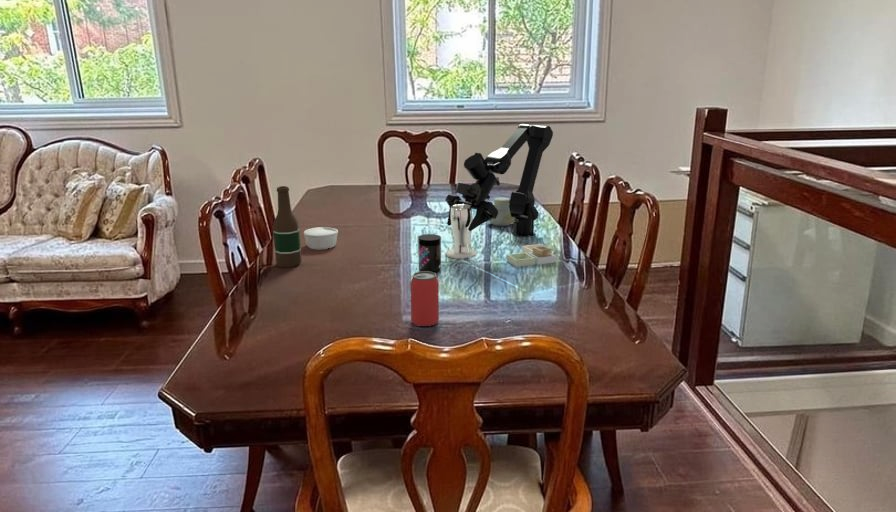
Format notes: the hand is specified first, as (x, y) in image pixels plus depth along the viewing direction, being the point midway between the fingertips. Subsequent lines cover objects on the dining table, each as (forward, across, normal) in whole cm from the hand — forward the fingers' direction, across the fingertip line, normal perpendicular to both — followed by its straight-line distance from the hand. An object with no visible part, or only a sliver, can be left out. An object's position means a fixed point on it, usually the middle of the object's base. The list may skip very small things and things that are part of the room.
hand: (458, 227), depth 193 cm
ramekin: (+24, -40, -10) cm, 48 cm away
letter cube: (-3, +23, +15) cm, 28 cm away
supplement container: (+19, +4, -5) cm, 20 cm away
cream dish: (-6, +18, +19) cm, 26 cm away
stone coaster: (+6, 0, +7) cm, 9 cm away
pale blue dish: (-3, +23, +16) cm, 28 cm away
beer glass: (+5, 0, +8) cm, 9 cm away
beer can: (+38, +31, -25) cm, 54 cm away
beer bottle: (+37, -31, -24) cm, 54 cm away
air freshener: (-22, -15, +35) cm, 44 cm away
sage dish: (+2, +20, +11) cm, 23 cm away
